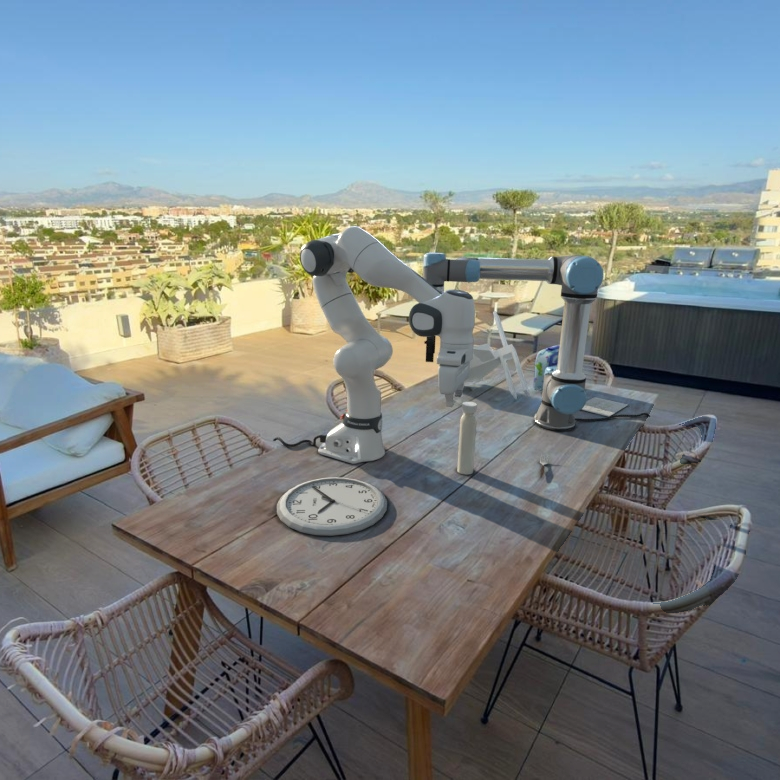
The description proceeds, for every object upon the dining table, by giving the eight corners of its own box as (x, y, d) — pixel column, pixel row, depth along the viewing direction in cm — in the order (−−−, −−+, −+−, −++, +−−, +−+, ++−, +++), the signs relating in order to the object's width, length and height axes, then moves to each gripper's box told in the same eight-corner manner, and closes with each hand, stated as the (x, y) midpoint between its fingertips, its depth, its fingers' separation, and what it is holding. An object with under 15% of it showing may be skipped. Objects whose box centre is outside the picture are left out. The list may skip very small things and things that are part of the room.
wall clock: (392, 527, 129) (268, 531, 127) (391, 533, 130) (269, 537, 127) (383, 473, 158) (282, 475, 155) (383, 478, 158) (282, 480, 156)
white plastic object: (461, 429, 252) (437, 405, 227) (444, 352, 274) (420, 323, 250) (535, 404, 240) (518, 377, 215) (510, 326, 262) (492, 293, 237)
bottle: (465, 476, 161) (469, 409, 154) (453, 470, 165) (457, 404, 158) (476, 471, 164) (481, 405, 157) (464, 466, 168) (469, 401, 161)
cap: (469, 414, 155) (469, 407, 155) (458, 410, 159) (459, 403, 158) (479, 411, 158) (479, 404, 157) (468, 407, 161) (469, 400, 161)
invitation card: (608, 416, 214) (573, 407, 224) (608, 416, 214) (573, 408, 224) (628, 404, 229) (594, 396, 238) (628, 405, 229) (594, 397, 238)
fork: (536, 478, 160) (536, 472, 159) (540, 458, 174) (541, 452, 173) (545, 480, 159) (545, 474, 158) (548, 459, 173) (549, 453, 173)
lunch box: (550, 397, 237) (555, 352, 231) (529, 391, 245) (533, 348, 238) (577, 386, 255) (582, 344, 249) (556, 381, 262) (561, 340, 256)
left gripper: (454, 343, 150) (452, 389, 154) (434, 359, 131) (433, 411, 136) (476, 345, 148) (473, 392, 152) (459, 361, 129) (456, 414, 133)
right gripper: (424, 293, 195) (422, 349, 202) (419, 302, 172) (417, 365, 178) (444, 294, 195) (441, 350, 201) (442, 303, 171) (439, 366, 177)
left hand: (454, 401), depth 143 cm, fingers open, 8 cm apart
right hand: (430, 357), depth 190 cm, fingers open, 13 cm apart
